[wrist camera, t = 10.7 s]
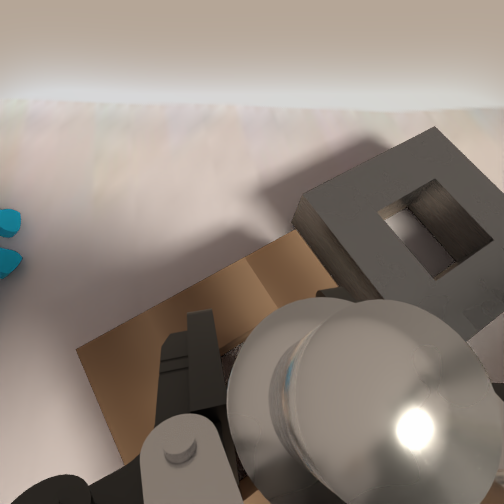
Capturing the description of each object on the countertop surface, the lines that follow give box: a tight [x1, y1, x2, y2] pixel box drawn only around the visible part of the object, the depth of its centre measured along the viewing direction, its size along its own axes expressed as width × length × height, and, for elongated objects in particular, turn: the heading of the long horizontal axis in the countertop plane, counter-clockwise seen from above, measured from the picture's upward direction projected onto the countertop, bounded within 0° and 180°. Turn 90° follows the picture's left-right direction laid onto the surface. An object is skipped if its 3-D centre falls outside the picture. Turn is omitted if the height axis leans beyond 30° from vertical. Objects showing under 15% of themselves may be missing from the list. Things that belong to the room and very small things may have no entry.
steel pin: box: [226, 297, 502, 504], centre depth 9 cm, size 3×3×12 cm
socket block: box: [292, 126, 504, 342], centre depth 19 cm, size 10×10×3 cm
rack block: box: [76, 229, 338, 504], centre depth 15 cm, size 11×11×3 cm
